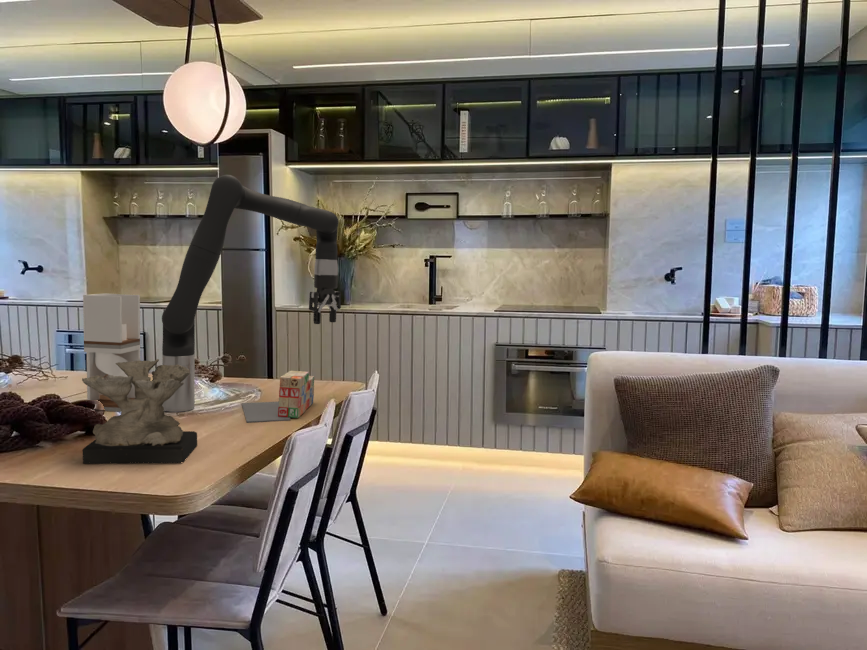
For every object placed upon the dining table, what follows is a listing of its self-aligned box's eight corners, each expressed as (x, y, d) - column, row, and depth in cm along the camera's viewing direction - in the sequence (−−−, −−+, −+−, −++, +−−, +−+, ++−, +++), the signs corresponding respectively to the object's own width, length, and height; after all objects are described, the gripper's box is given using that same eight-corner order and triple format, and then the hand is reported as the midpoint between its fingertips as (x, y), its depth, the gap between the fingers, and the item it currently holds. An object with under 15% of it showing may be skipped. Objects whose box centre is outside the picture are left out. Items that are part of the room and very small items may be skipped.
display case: (85, 409, 180) (83, 294, 177) (106, 401, 191) (104, 293, 188) (121, 411, 180) (119, 296, 176) (140, 403, 190) (139, 295, 187)
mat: (246, 422, 173) (246, 421, 173) (241, 404, 195) (241, 403, 195) (290, 420, 177) (290, 419, 177) (280, 402, 200) (280, 401, 199)
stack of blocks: (295, 401, 200) (297, 365, 199) (313, 403, 200) (315, 367, 199) (277, 416, 179) (279, 376, 178) (298, 418, 179) (300, 378, 178)
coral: (65, 464, 133) (63, 370, 131) (104, 438, 153) (103, 356, 151) (181, 464, 136) (181, 372, 134) (205, 438, 156) (205, 358, 154)
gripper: (329, 273, 201) (328, 321, 203) (303, 273, 188) (302, 323, 190) (348, 274, 198) (346, 322, 199) (322, 273, 185) (321, 325, 187)
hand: (324, 323), depth 195 cm, fingers open, 8 cm apart
